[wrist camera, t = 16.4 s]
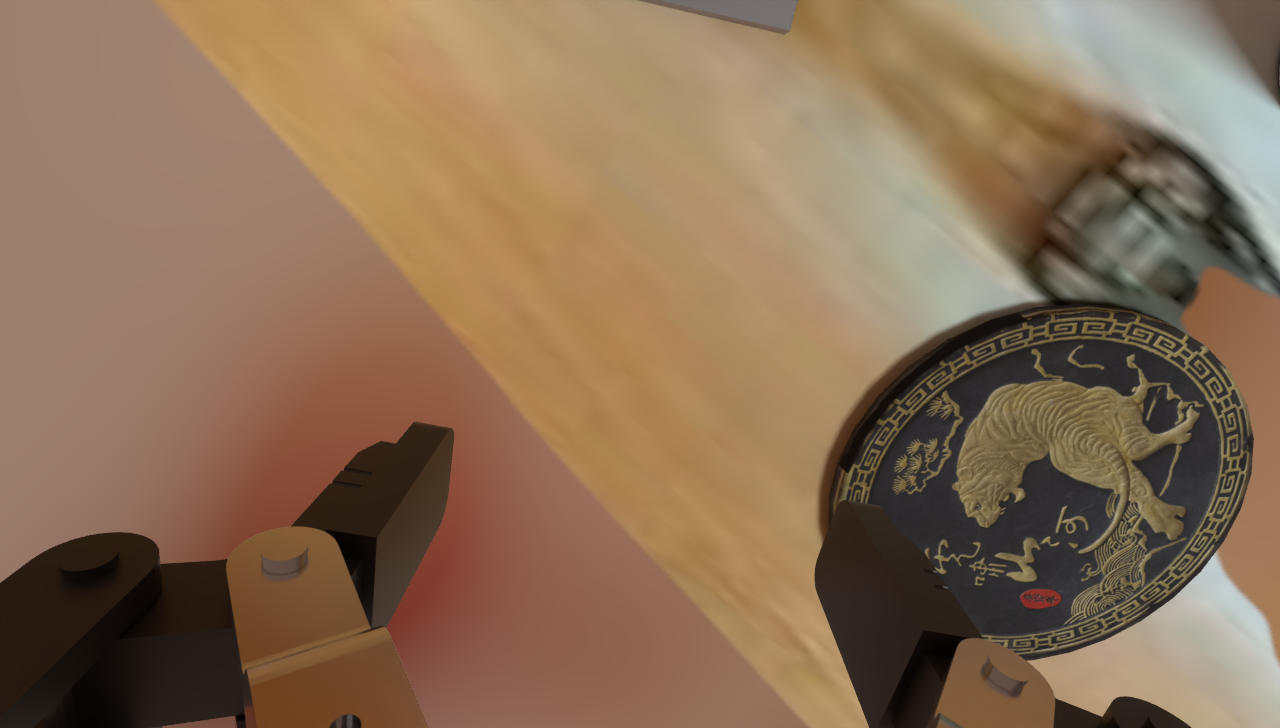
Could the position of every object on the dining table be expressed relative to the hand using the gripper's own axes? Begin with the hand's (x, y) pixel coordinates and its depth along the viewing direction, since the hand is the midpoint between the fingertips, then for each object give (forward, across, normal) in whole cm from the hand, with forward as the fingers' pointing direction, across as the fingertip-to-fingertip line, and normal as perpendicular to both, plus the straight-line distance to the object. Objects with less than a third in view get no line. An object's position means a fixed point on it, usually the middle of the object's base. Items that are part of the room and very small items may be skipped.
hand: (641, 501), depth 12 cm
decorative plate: (+29, -32, +12) cm, 45 cm away
